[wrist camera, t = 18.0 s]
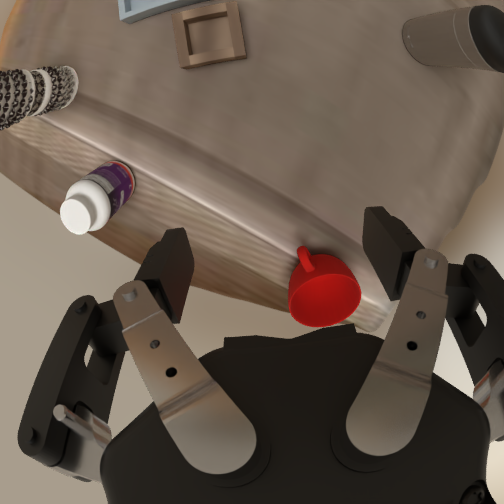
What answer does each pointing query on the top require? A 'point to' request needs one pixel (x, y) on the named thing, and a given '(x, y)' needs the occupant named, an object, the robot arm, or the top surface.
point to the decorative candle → (35, 92)
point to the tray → (148, 8)
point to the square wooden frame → (208, 35)
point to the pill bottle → (97, 197)
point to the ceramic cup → (322, 290)
